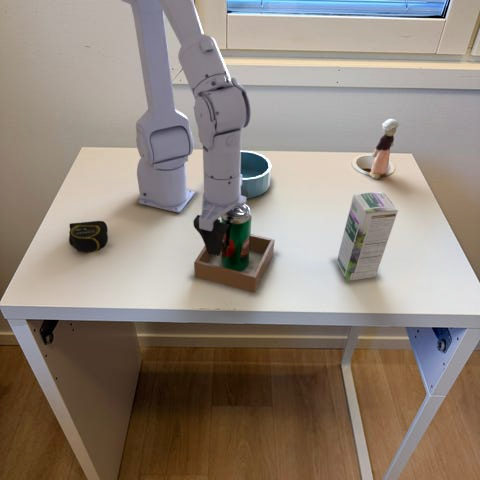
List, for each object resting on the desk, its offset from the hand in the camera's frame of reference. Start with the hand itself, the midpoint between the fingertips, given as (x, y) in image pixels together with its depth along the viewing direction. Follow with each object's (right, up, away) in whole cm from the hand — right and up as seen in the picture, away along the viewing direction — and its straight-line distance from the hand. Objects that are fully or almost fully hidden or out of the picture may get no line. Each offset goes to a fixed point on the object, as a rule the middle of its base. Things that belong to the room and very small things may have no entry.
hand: (221, 240), depth 82 cm
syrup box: (+24, -5, +4) cm, 25 cm away
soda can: (+2, -4, +3) cm, 6 cm away
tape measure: (-25, 0, +6) cm, 26 cm away
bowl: (+4, +17, +22) cm, 28 cm away
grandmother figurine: (+35, +20, +27) cm, 49 cm away
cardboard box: (+2, -4, +3) cm, 6 cm away
